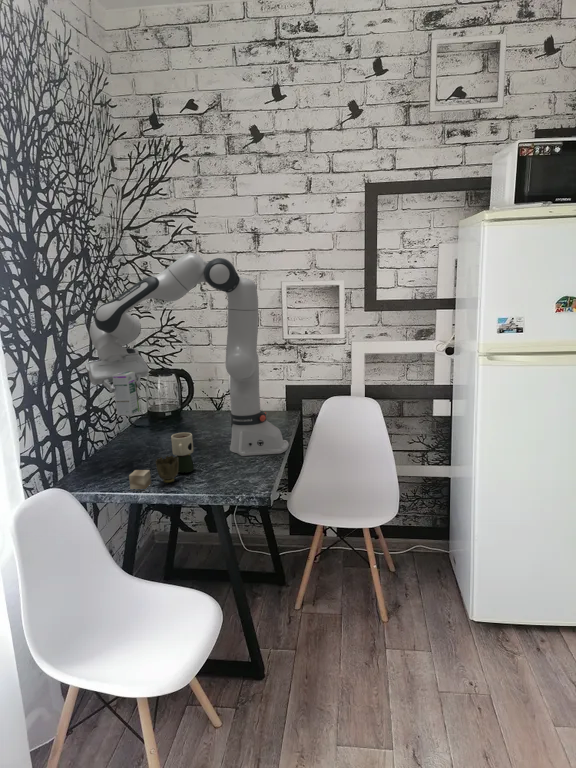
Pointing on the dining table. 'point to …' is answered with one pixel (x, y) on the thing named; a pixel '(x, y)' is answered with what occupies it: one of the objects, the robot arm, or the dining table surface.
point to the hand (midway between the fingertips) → (126, 388)
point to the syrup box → (126, 393)
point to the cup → (167, 468)
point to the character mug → (183, 450)
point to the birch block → (140, 479)
